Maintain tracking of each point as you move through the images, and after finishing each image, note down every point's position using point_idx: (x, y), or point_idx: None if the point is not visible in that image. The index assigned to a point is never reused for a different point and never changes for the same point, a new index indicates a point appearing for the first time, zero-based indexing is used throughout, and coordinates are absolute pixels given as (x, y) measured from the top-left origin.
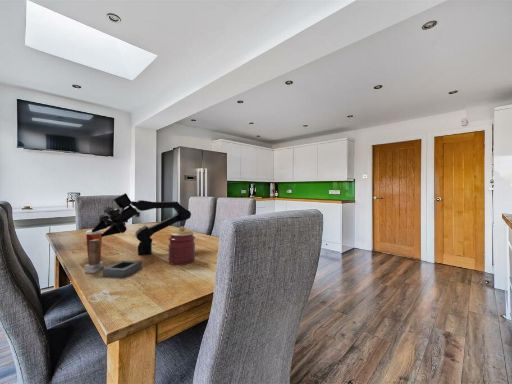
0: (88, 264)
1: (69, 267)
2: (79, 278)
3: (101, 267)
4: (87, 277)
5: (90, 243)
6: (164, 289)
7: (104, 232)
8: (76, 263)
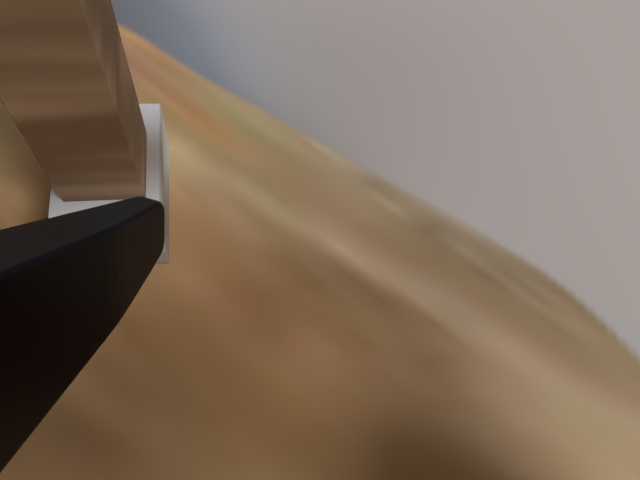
0: (148, 133)
1: (438, 221)
2: None
3: None
4: None
5: None
6: None
7: (59, 220)
8: (506, 335)
